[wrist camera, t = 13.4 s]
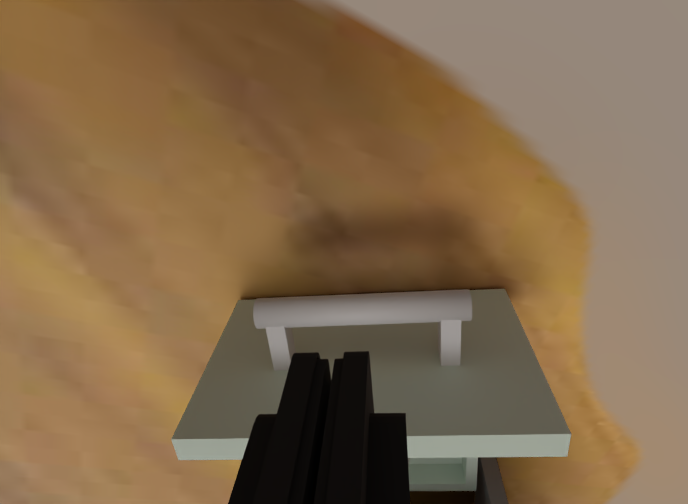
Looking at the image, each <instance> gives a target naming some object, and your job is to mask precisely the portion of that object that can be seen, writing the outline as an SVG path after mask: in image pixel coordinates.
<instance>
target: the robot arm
mask: <svg viewBox="0 0 688 504" xmlns="http://www.w3.org/2000/svg"><path fill="white" fill-rule="evenodd" d="M228 504H410V489H409V469H408V450H407V430H406V413H374V403H373V391H372V379H371V367H370V355H369V351H355V352H344V355H343V358H339V359H335V360H334V366H333V373H332V380H331V374H330V366H329V360H328V359H320V355H319V353H318V352H311V353H294V354H293V356H292V359H291V363H290V366H289V370H288V374H287V378H286V381H285V385H284V389H283V392H282V396H281V400H280V404H279V407H278V411H277V414H259V415H258V416H257V417H256V419H255V422H254V424H253V427H252V430H251V433H250V437H249V440H248V443H247V446H246V449H245V452H244V455H243V459H242V462H241V465H240V468H239V471H238V474H237V478H236V481H235V484H234V487H233V490H232V493H231V496H230V500H229V503H228Z"/></svg>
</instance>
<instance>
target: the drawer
mask: <svg viewBox="0 0 688 504" xmlns="http://www.w3.org/2000/svg"><path fill="white" fill-rule="evenodd" d="M355 351H369V355H370V367H371V379H372V391H373V403H374V413H406V430H407V450H408V458H410V460H409V467H408V469H409V489H410V491H476V486H477V466H478V457H567V455H568V449H569V443H570V438H571V433H570V430H569V428H568V426H567V424H566V422H565V419H564V417H563V415H562V413H561V411H560V408H559V406H558V404H557V402H556V400H555V397H554V395H553V393H552V391H551V389H550V386H549V384H548V382H547V380H546V378H545V376H544V373H543V371H542V369H541V367H540V365H539V362H538V360H537V358H536V356H535V354H534V351H533V349H532V347H531V345H530V343H529V340H528V338H527V336H526V334H525V332H524V329H523V327H522V325H521V323H520V321H519V319H518V316H517V314H516V312H515V310H514V308H513V305H512V303H511V301H510V299H509V297H508V294H507V292H506V290H505V289H485V290H469V289H463V290H440V291H416V292H393V293H370V294H347V295H324V296H301V297H278V298H257V299H253V300H238V302H237V304H236V306H235V308H234V310H233V313H232V315H231V317H230V319H229V321H228V323H227V325H226V327H225V329H224V331H223V333H222V335H221V337H220V339H219V342H218V344H217V346H216V348H215V350H214V352H213V354H212V356H211V358H210V360H209V362H208V364H207V366H206V369H205V371H204V373H203V375H202V377H201V379H200V381H199V383H198V385H197V387H196V389H195V391H194V393H193V395H192V398H191V400H190V402H189V404H188V406H187V408H186V410H185V412H184V414H183V416H182V418H181V420H180V422H179V424H178V427H177V429H176V431H175V433H174V435H173V437H172V439H171V440H172V443H173V445H174V448H175V451H176V454H177V457H178V460H242V459H243V455H244V452H245V449H246V446H247V443H248V440H249V437H250V433H251V430H252V427H253V424H254V422H255V419H256V417H257V416H258V415H259V414H277V411H278V407H279V404H280V400H281V396H282V392H283V389H284V385H285V381H286V378H287V374H288V370H289V366H290V363H291V359H292V356H293V354H294V353H311V352H318V353H319V355H320V359H328V360H329V366H330V374H331V380H332V373H333V366H334V360H335V359H339V358H343V355H344V352H355Z"/></svg>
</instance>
